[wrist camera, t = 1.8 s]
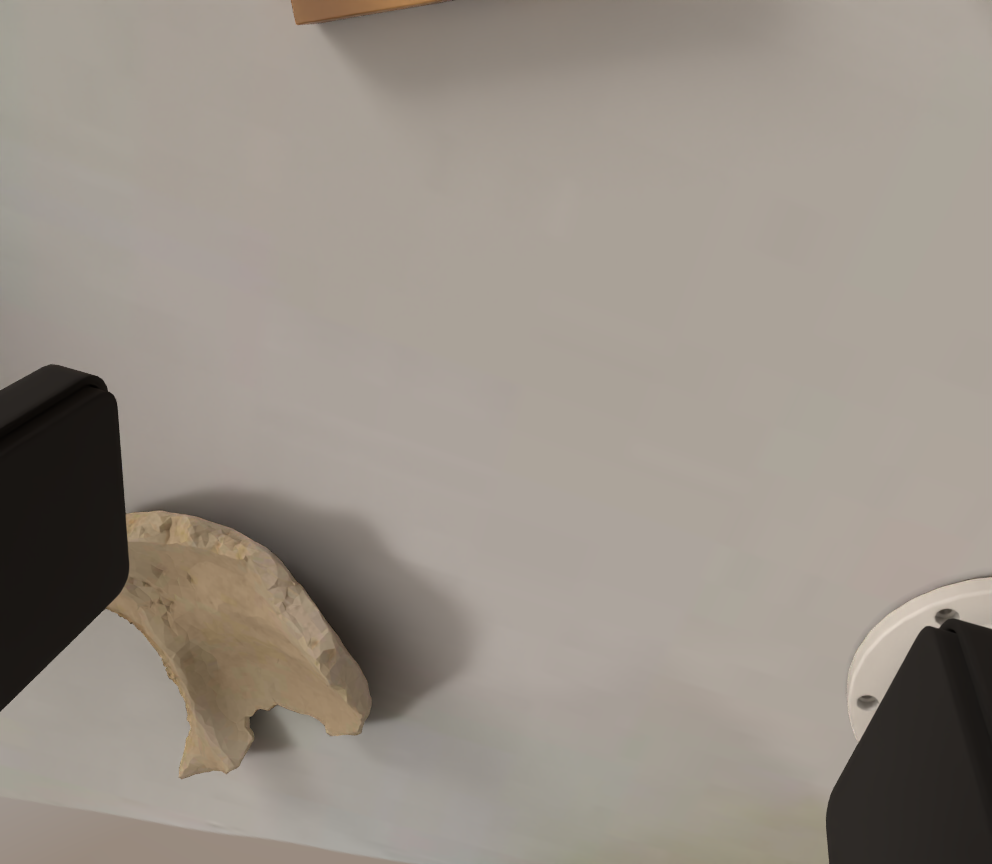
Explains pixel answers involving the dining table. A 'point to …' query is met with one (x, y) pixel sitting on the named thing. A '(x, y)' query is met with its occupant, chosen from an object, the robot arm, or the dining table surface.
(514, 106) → the dining table surface
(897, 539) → the dining table surface
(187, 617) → the beige bone fragment
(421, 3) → the board
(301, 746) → the dining table surface
